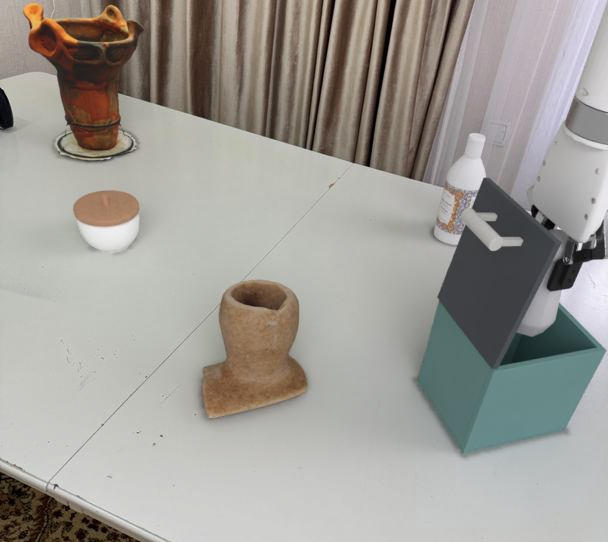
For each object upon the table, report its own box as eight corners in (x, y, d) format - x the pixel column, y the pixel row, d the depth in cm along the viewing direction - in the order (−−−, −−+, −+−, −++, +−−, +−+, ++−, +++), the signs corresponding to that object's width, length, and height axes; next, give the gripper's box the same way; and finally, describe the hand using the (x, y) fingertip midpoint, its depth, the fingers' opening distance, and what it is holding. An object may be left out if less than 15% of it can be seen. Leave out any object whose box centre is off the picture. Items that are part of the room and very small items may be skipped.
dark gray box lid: (489, 177, 69) (451, 176, 67) (562, 242, 59) (520, 243, 58) (442, 297, 79) (408, 298, 77) (498, 368, 70) (461, 372, 68)
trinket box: (83, 264, 105) (73, 215, 99) (78, 232, 112) (69, 184, 106) (147, 256, 108) (141, 208, 102) (139, 225, 115) (133, 178, 109)
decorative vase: (170, 146, 141) (159, 10, 123) (79, 175, 128) (52, 27, 109) (117, 117, 151) (100, -13, 132) (28, 141, 138) (-5, 0, 119)
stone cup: (284, 346, 93) (290, 263, 83) (316, 401, 85) (326, 316, 75) (185, 368, 88) (178, 282, 78) (208, 429, 80) (203, 341, 70)
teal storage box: (510, 364, 93) (541, 284, 84) (564, 431, 84) (607, 350, 74) (416, 382, 89) (438, 300, 79) (462, 454, 80) (493, 372, 70)
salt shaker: (495, 327, 77) (527, 236, 68) (511, 305, 80) (544, 216, 72) (541, 347, 74) (580, 256, 66) (555, 323, 78) (595, 234, 69)
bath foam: (426, 230, 121) (449, 130, 108) (455, 225, 123) (482, 126, 110) (445, 249, 116) (472, 146, 103) (476, 243, 119) (505, 142, 105)
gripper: (703, 155, 55) (619, 315, 67) (585, 88, 67) (532, 235, 79) (635, 162, 53) (562, 326, 65) (526, 91, 65) (481, 241, 77)
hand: (546, 274), depth 72 cm, fingers closed on salt shaker, 4 cm apart
